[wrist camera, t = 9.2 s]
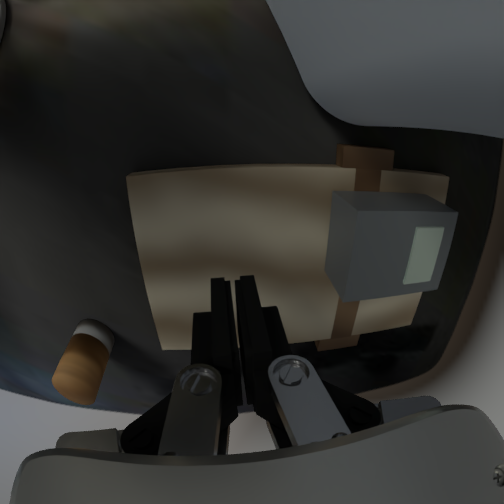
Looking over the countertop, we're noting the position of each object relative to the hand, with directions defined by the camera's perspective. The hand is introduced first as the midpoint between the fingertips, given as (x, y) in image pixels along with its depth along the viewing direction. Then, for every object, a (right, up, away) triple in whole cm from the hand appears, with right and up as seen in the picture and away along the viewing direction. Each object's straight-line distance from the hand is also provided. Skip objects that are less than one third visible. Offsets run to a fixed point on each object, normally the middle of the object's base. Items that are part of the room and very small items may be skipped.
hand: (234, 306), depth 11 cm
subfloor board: (+5, +1, +11) cm, 12 cm away
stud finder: (+10, +4, +8) cm, 14 cm away
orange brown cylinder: (-14, -6, +12) cm, 20 cm away
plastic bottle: (+9, +19, +3) cm, 21 cm away
